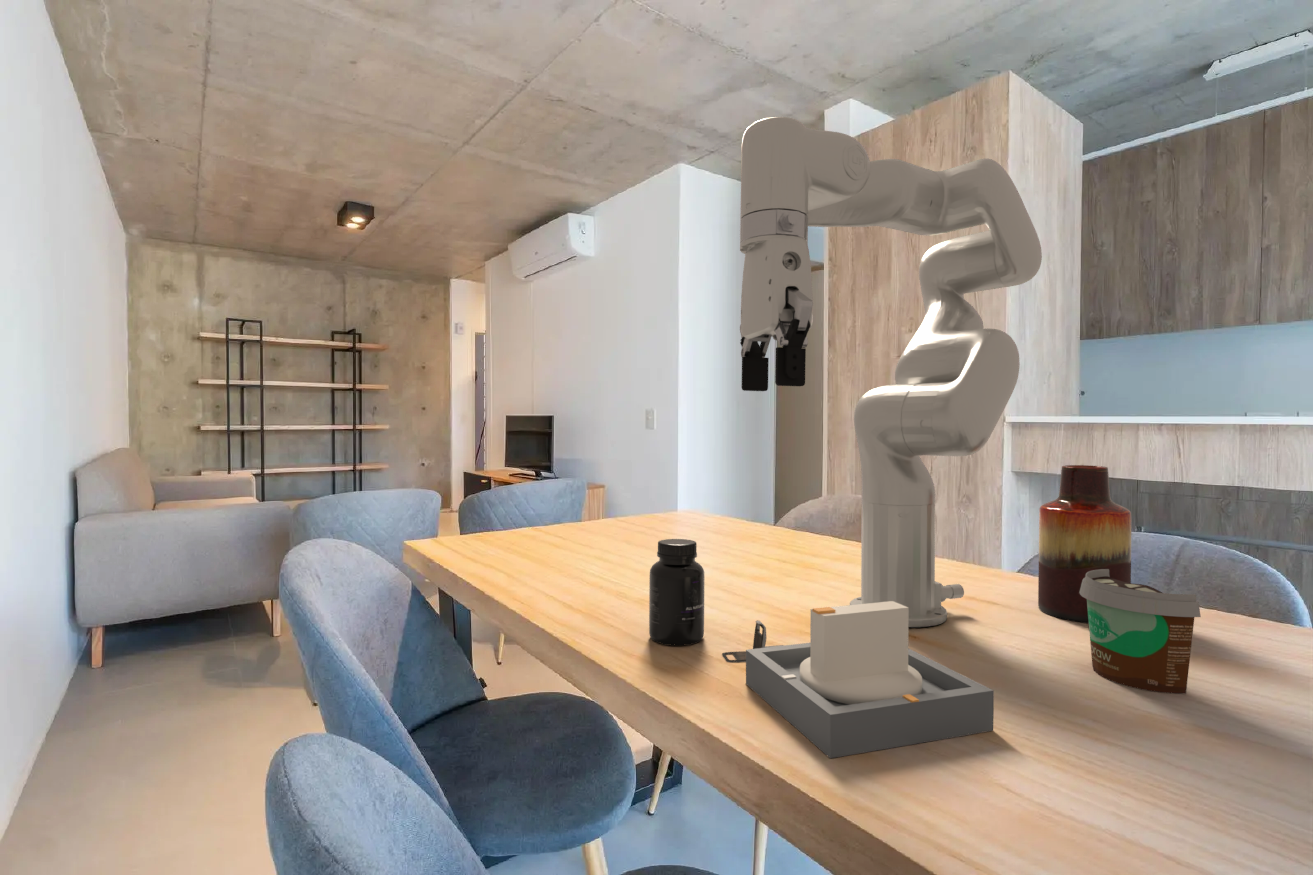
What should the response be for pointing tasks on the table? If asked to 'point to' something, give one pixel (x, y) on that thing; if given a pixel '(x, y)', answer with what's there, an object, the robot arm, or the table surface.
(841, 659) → the dial
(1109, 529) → the vase
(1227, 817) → the table surface
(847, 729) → the dial plate
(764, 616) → the table surface
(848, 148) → the robot arm
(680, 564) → the supplement bottle
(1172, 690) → the food container
